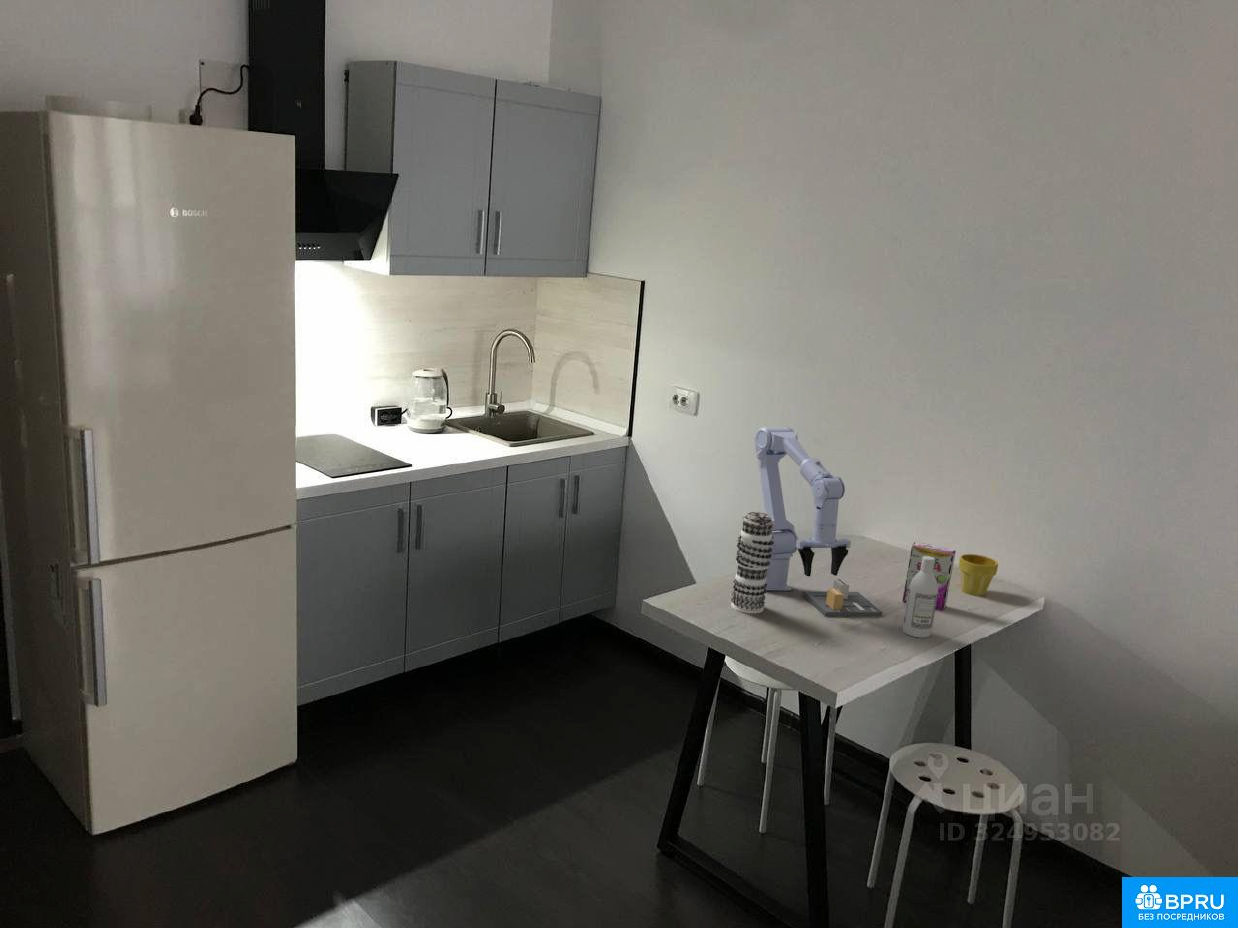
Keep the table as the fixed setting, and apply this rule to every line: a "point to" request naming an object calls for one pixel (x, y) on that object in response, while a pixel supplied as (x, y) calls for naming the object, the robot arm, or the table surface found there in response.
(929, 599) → the bath foam
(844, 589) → the cream fader knob
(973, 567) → the plant pot
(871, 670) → the table surface
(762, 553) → the decorative candle
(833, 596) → the amber fader knob
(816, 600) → the mixing board
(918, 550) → the candy bar box
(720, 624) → the table surface
